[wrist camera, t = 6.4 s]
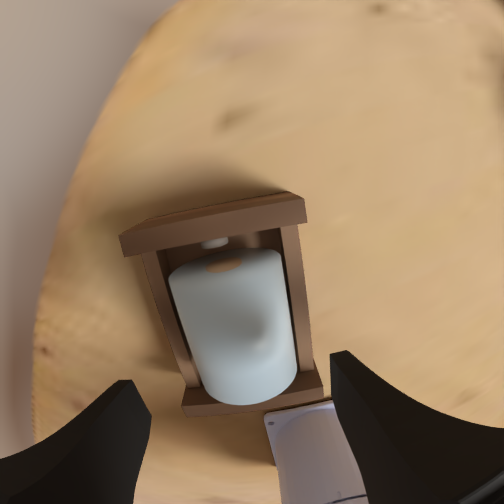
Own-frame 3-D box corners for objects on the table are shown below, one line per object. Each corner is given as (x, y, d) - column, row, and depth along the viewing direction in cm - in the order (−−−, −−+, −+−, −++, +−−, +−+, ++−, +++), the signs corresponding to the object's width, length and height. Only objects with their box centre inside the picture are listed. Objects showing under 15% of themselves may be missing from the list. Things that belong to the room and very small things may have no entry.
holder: (310, 358, 18) (323, 398, 14) (194, 376, 18) (186, 417, 15) (288, 191, 15) (304, 198, 11) (146, 219, 15) (118, 235, 12)
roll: (290, 339, 17) (304, 396, 12) (208, 352, 17) (198, 411, 12) (274, 239, 15) (288, 273, 10) (180, 257, 15) (153, 296, 10)
